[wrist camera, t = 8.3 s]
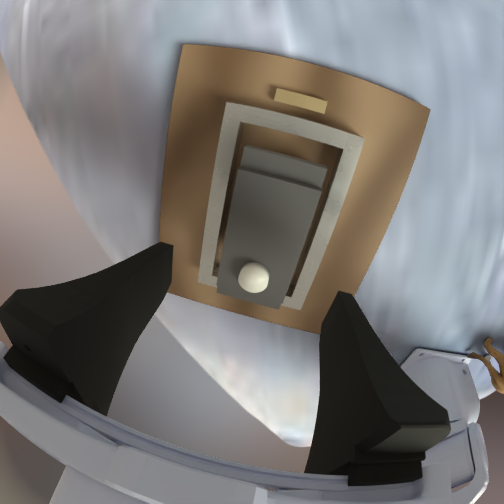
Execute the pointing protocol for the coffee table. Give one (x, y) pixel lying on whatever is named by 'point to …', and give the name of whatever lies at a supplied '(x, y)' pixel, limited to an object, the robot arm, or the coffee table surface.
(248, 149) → the servo block
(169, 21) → the coffee table surface
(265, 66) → the pocket plate
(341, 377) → the robot arm
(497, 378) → the lion figurine
